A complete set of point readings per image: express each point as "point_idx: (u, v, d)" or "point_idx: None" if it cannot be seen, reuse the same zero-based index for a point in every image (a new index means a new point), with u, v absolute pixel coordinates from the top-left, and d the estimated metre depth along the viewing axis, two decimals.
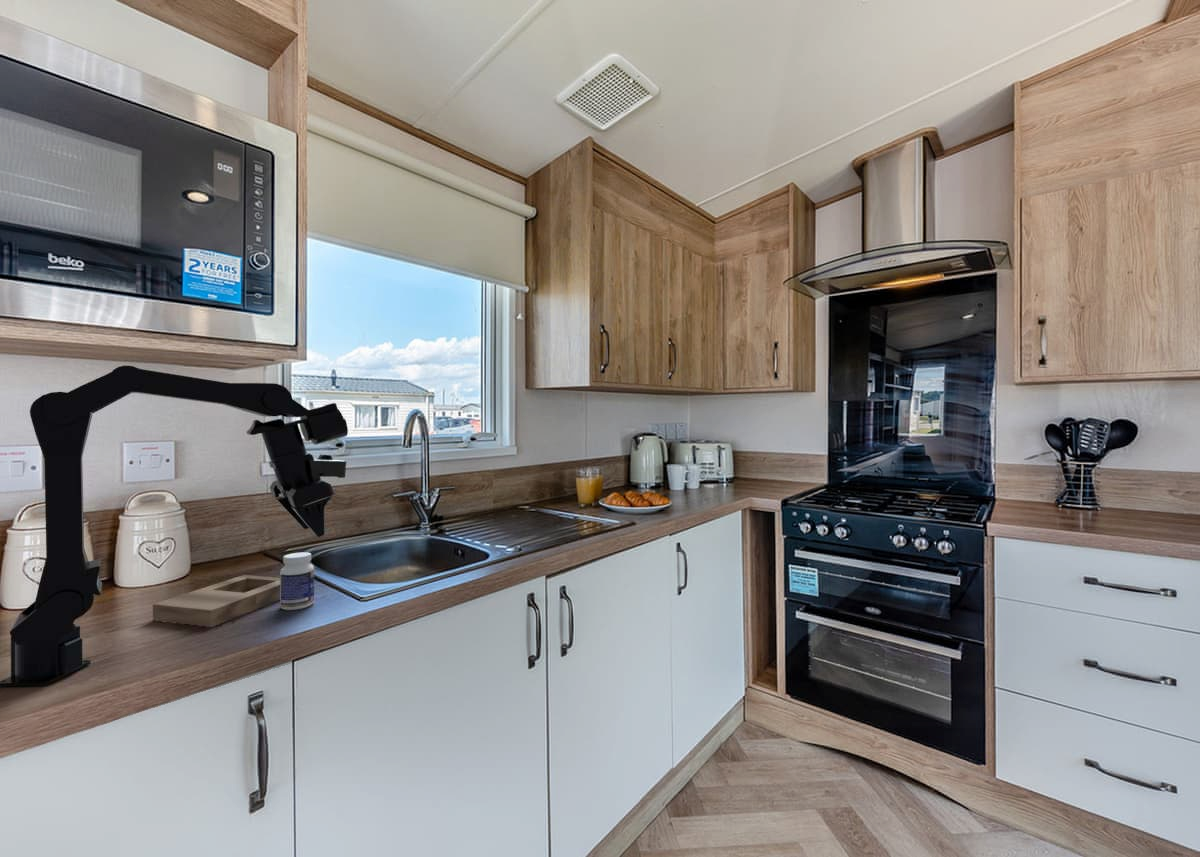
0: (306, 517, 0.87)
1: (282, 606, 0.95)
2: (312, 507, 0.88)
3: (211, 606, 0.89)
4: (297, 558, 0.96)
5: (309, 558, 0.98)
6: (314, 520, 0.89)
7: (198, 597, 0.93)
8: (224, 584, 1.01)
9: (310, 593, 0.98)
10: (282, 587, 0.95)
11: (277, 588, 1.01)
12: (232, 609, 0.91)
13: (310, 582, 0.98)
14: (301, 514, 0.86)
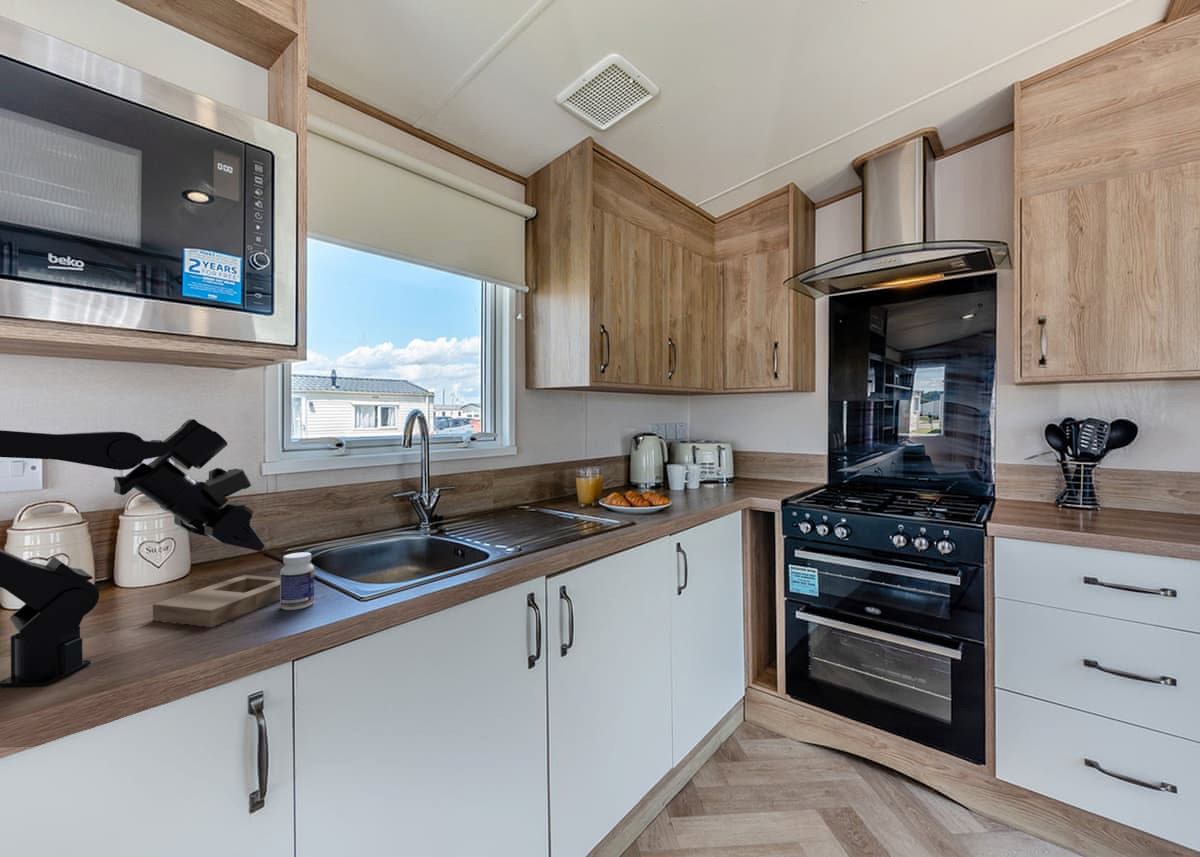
0: (237, 542, 0.84)
1: (282, 606, 0.95)
2: None
3: (211, 606, 0.89)
4: (297, 558, 0.96)
5: (309, 558, 0.98)
6: (247, 540, 0.86)
7: (198, 597, 0.93)
8: (224, 584, 1.01)
9: (310, 593, 0.98)
10: (282, 587, 0.95)
11: (277, 588, 1.01)
12: (232, 609, 0.91)
13: (310, 582, 0.98)
14: (231, 542, 0.83)
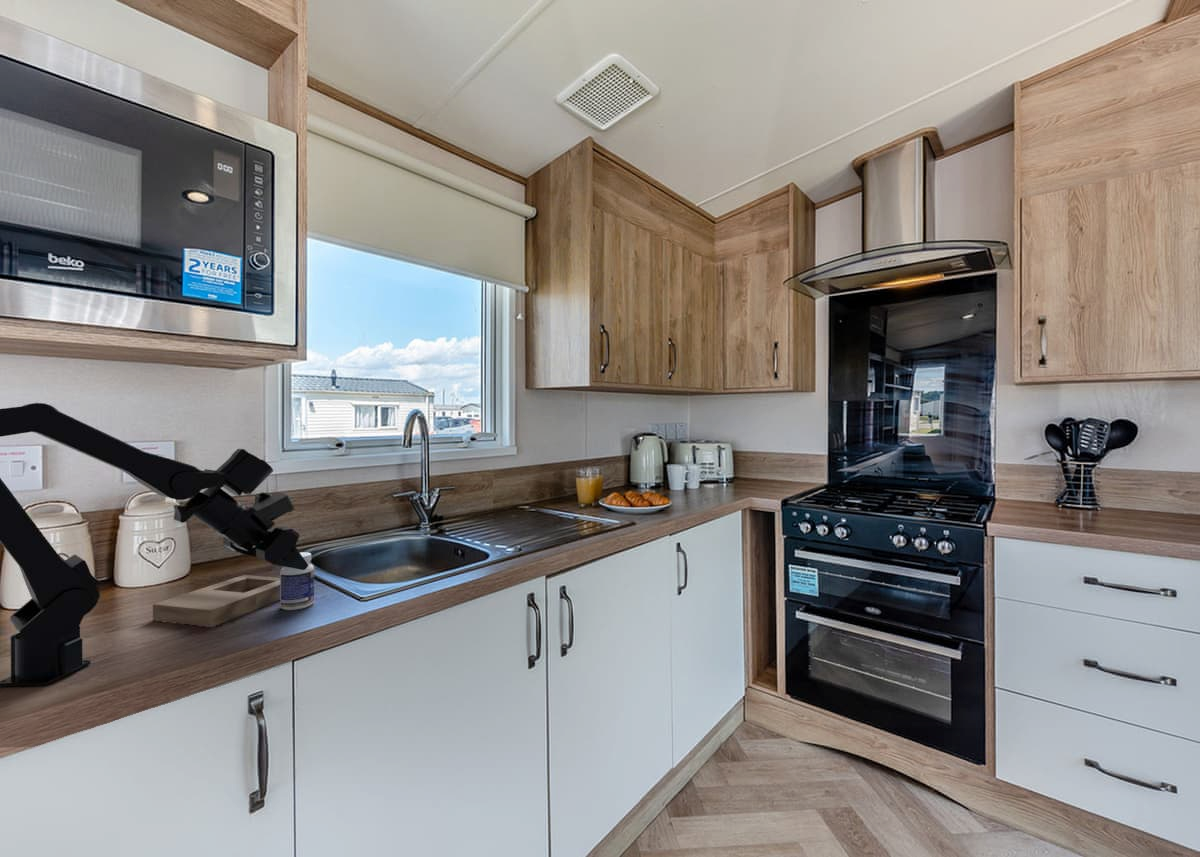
0: (285, 563, 0.90)
1: (282, 606, 0.95)
2: None
3: (211, 606, 0.89)
4: None
5: (309, 558, 0.98)
6: (293, 560, 0.92)
7: (198, 597, 0.93)
8: (224, 584, 1.01)
9: (310, 593, 0.98)
10: (282, 587, 0.95)
11: (277, 588, 1.01)
12: (232, 609, 0.91)
13: (310, 582, 0.98)
14: (280, 563, 0.89)
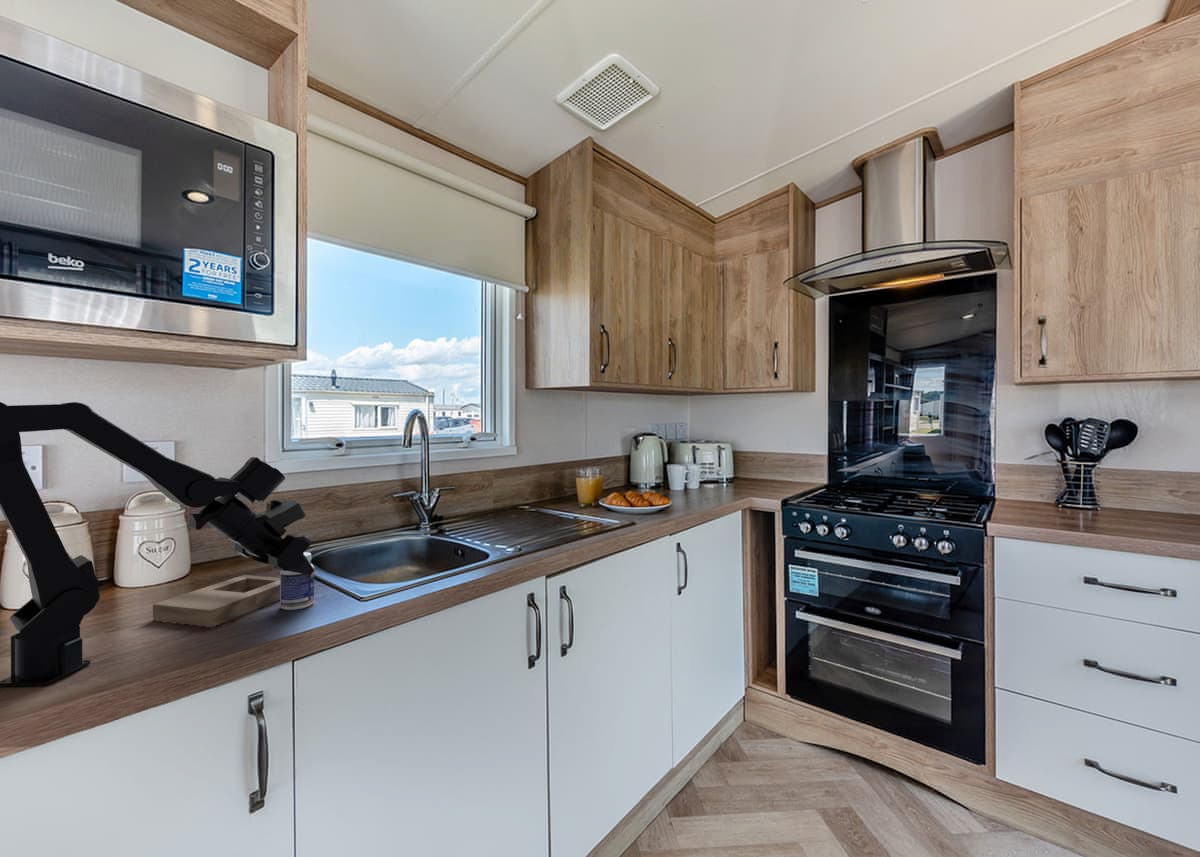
0: (292, 568, 0.93)
1: (282, 606, 0.95)
2: None
3: (211, 606, 0.89)
4: None
5: (309, 558, 0.98)
6: (300, 566, 0.94)
7: (198, 597, 0.93)
8: (224, 584, 1.01)
9: (310, 593, 0.98)
10: (282, 587, 0.95)
11: (277, 588, 1.01)
12: (232, 609, 0.91)
13: (310, 582, 0.98)
14: None
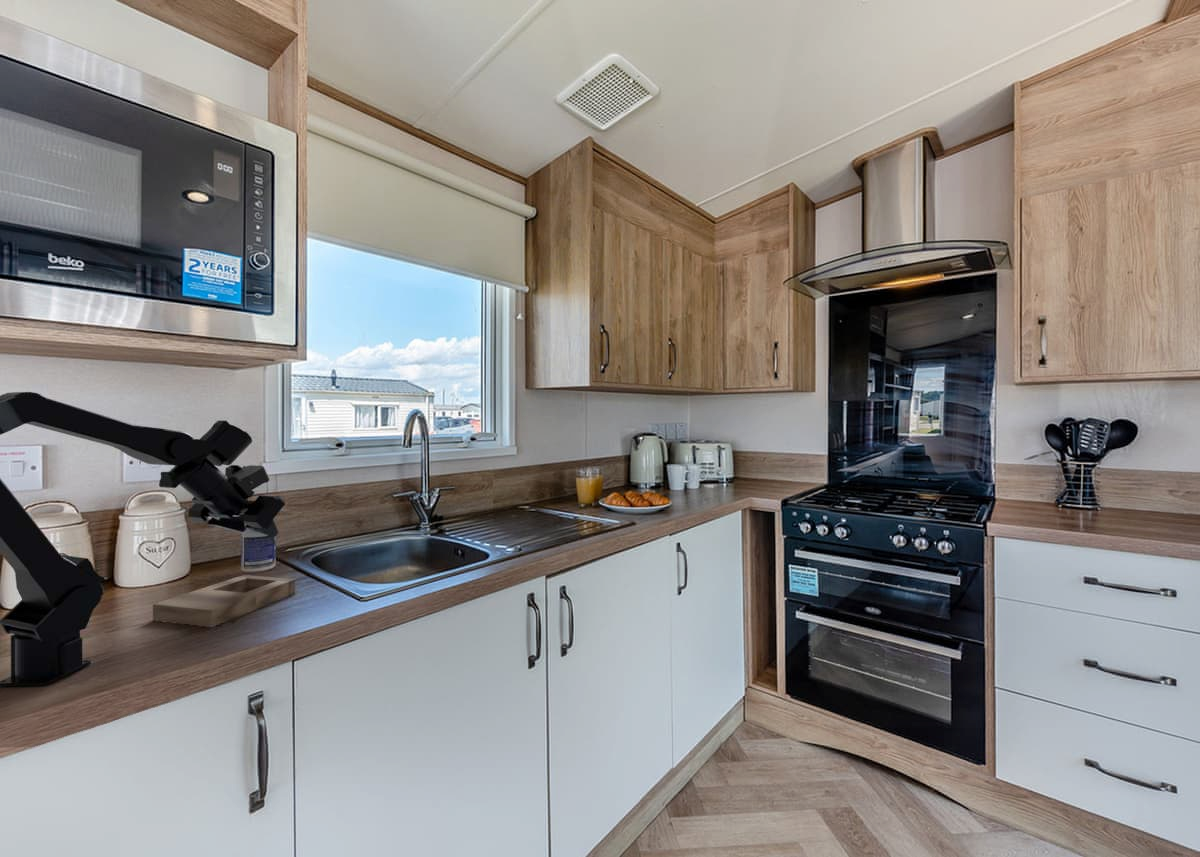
0: (262, 528, 0.96)
1: (246, 568, 0.97)
2: None
3: (211, 606, 0.89)
4: None
5: None
6: (268, 527, 0.98)
7: (198, 597, 0.93)
8: (224, 584, 1.01)
9: (274, 555, 1.01)
10: (246, 549, 0.98)
11: (277, 588, 1.01)
12: (232, 609, 0.91)
13: (274, 544, 1.01)
14: (258, 528, 0.95)
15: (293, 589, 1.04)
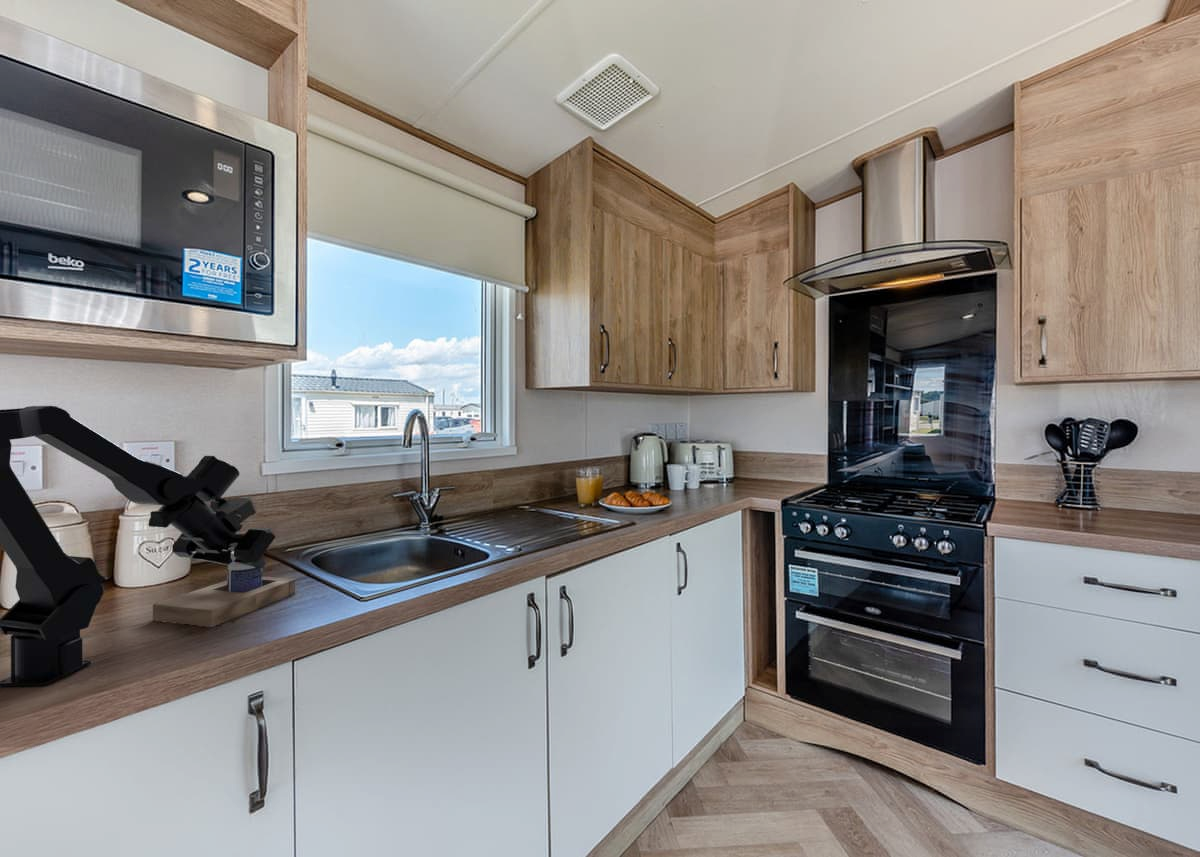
0: (251, 561, 0.97)
1: None
2: None
3: (211, 606, 0.89)
4: None
5: None
6: None
7: (198, 597, 0.93)
8: (224, 584, 1.01)
9: None
10: (233, 582, 0.98)
11: (277, 588, 1.01)
12: (232, 609, 0.91)
13: (261, 576, 1.01)
14: (247, 562, 0.96)
15: (293, 589, 1.04)
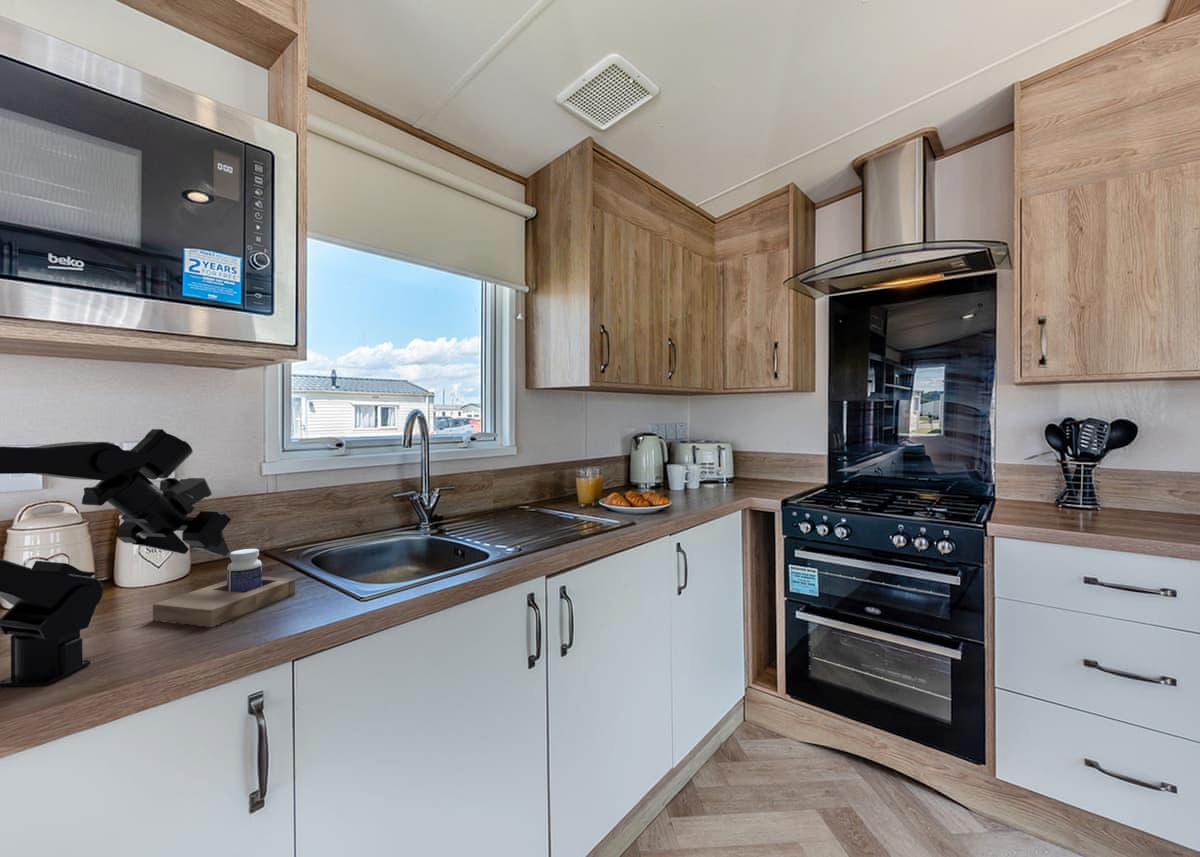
0: (211, 547, 0.87)
1: None
2: None
3: (211, 606, 0.89)
4: (249, 553, 0.99)
5: (258, 553, 1.02)
6: (218, 545, 0.89)
7: (198, 597, 0.93)
8: (224, 584, 1.01)
9: None
10: (233, 583, 0.98)
11: (277, 588, 1.01)
12: (232, 609, 0.91)
13: (261, 576, 1.01)
14: (207, 548, 0.86)
15: (293, 589, 1.04)
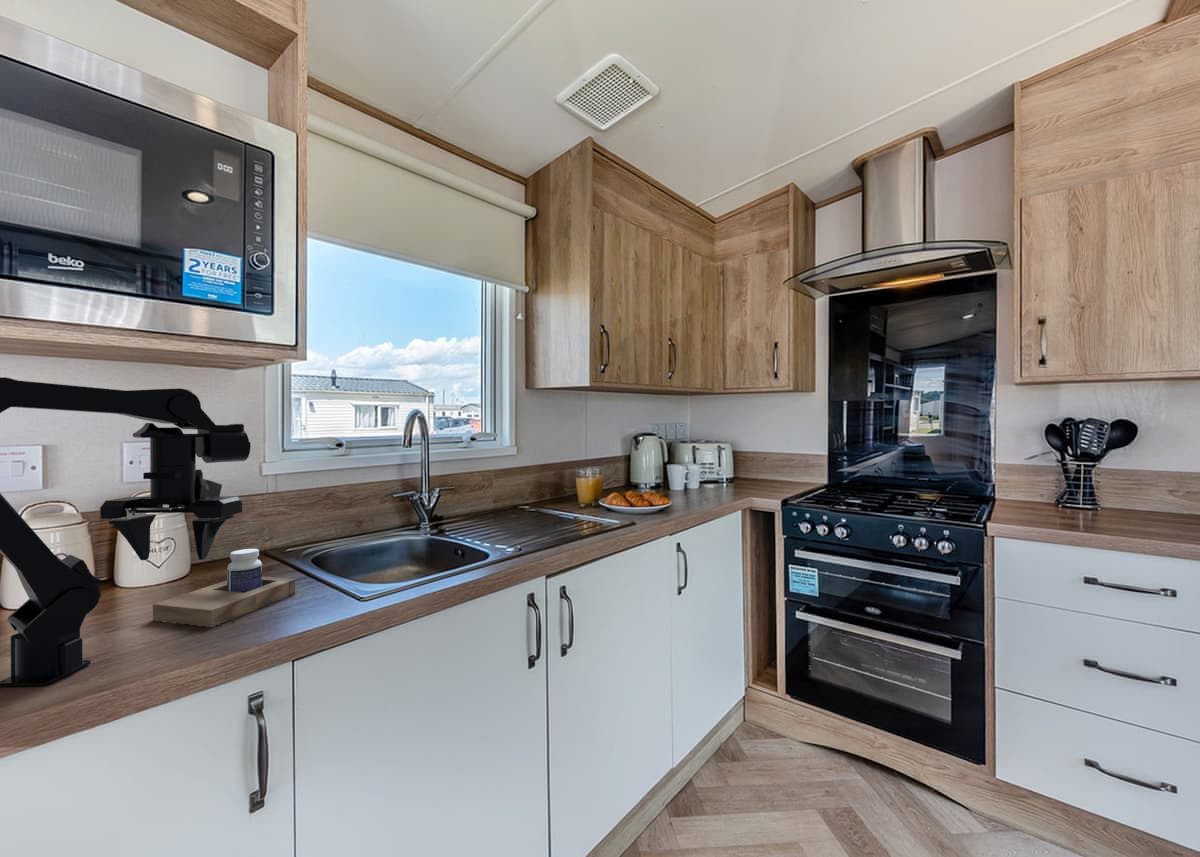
0: (205, 534, 0.82)
1: None
2: (209, 524, 0.83)
3: (211, 606, 0.89)
4: (249, 553, 0.99)
5: (258, 553, 1.02)
6: (207, 539, 0.83)
7: (198, 597, 0.93)
8: (224, 584, 1.01)
9: None
10: (233, 583, 0.98)
11: (277, 588, 1.01)
12: (232, 609, 0.91)
13: (261, 576, 1.01)
14: (204, 529, 0.81)
15: (293, 589, 1.04)
